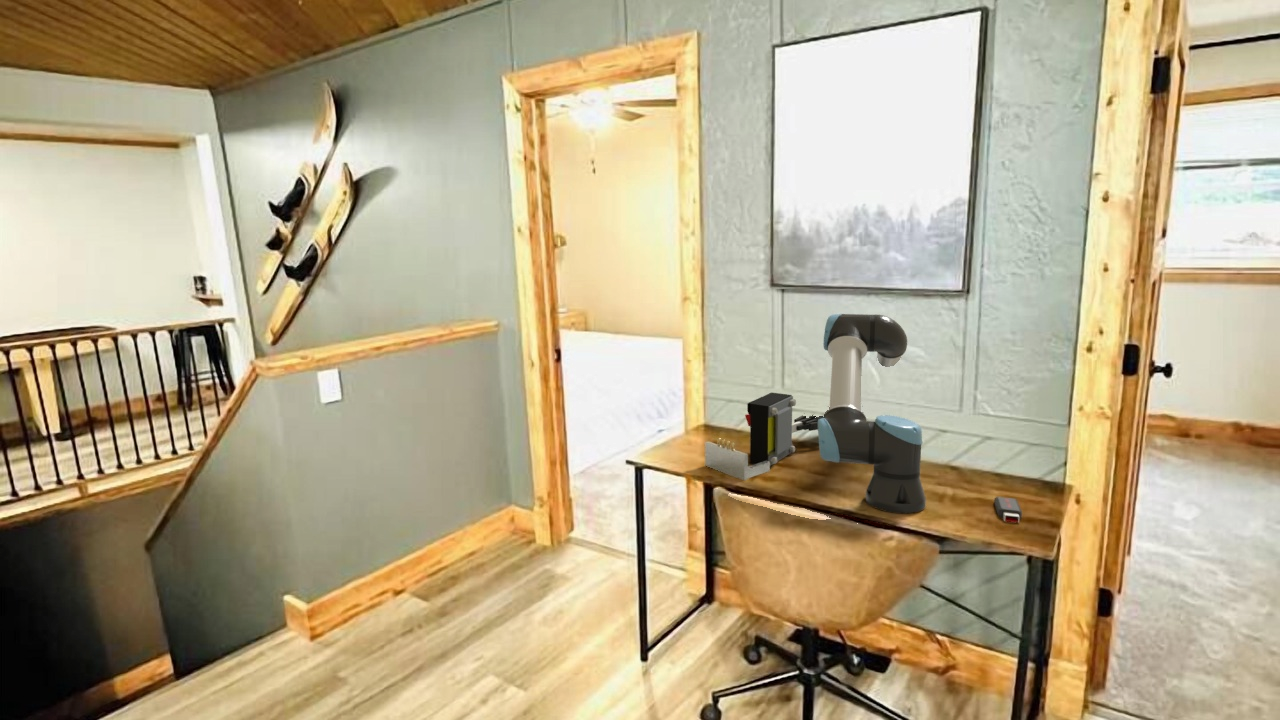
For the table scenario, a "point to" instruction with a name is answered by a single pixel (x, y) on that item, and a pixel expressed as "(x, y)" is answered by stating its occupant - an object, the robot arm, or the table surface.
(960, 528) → the table surface
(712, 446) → the mounting bracket
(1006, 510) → the usb drive
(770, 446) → the electrical component
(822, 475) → the table surface
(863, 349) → the robot arm
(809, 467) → the table surface
